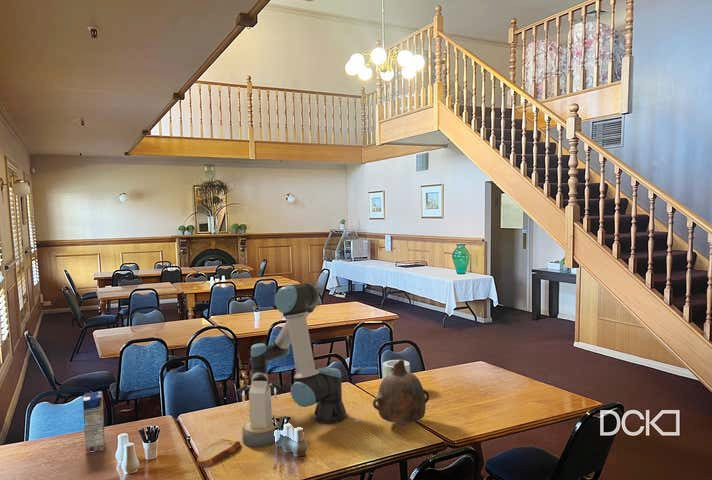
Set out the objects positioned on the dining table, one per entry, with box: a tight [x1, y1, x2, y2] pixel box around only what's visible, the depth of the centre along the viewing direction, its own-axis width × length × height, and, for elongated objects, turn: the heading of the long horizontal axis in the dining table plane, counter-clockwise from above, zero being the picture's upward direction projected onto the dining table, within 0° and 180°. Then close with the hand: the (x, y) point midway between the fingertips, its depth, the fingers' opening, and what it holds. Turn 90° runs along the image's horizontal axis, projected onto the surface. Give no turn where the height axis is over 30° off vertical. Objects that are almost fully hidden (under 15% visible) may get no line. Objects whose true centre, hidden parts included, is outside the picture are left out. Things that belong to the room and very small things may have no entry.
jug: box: [372, 359, 430, 426], centre depth 218 cm, size 24×21×30 cm
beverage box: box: [82, 390, 106, 453], centre depth 208 cm, size 7×11×22 cm, turn 27°
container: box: [382, 359, 411, 380], centre depth 266 cm, size 16×16×15 cm
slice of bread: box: [196, 438, 241, 468], centre depth 197 cm, size 18×18×4 cm
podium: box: [241, 420, 281, 448], centre depth 210 cm, size 16×16×6 cm
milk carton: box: [248, 380, 273, 428], centre depth 209 cm, size 7×7×19 cm
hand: (259, 397), depth 209 cm, fingers open, 13 cm apart
